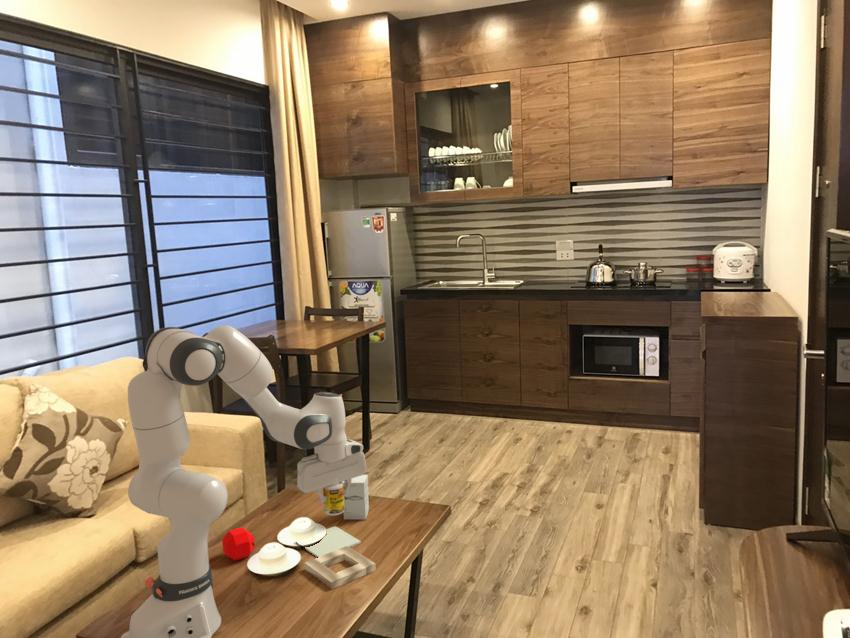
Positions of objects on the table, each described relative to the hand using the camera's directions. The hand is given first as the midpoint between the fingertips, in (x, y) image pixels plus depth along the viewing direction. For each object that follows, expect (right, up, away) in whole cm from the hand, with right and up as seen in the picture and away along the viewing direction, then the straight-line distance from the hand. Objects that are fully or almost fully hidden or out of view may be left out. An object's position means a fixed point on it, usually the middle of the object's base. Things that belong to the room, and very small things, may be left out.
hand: (333, 498), depth 188 cm
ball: (-29, -19, +9) cm, 36 cm away
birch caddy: (+2, -20, -1) cm, 20 cm away
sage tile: (-4, -17, +15) cm, 24 cm away
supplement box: (+3, -15, +34) cm, 37 cm away
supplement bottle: (0, -4, +1) cm, 4 cm away
